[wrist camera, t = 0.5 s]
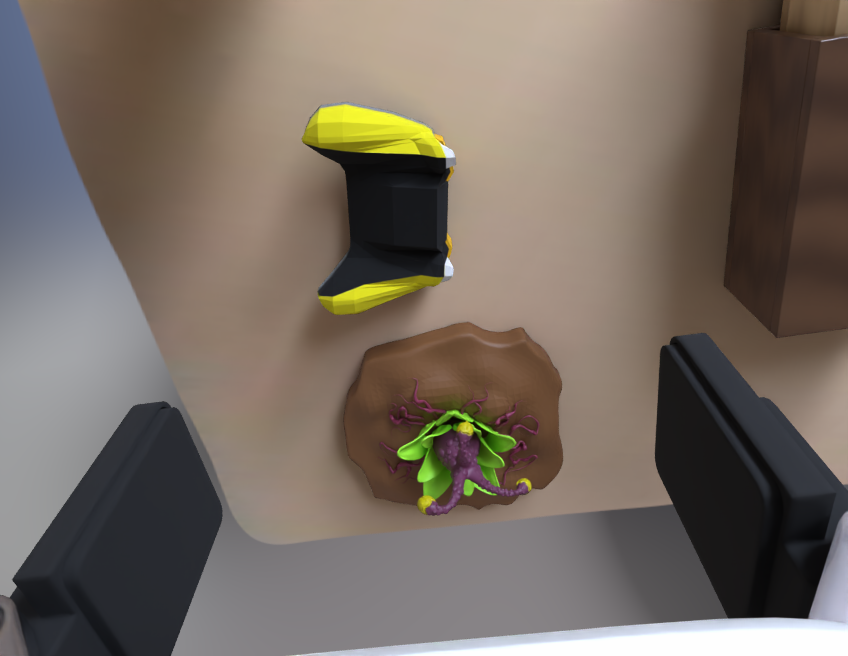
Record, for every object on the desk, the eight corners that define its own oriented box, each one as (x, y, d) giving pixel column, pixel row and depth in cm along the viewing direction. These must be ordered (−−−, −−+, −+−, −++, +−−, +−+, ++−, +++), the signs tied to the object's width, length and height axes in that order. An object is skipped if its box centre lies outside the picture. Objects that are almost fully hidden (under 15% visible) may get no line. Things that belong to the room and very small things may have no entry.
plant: (326, 334, 51) (303, 417, 41) (558, 311, 49) (591, 391, 40) (364, 503, 60) (353, 602, 51) (558, 487, 59) (585, 585, 50)
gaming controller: (327, 291, 49) (450, 291, 48) (317, 325, 44) (453, 324, 44) (309, 96, 41) (454, 95, 41) (294, 110, 36) (458, 110, 36)
